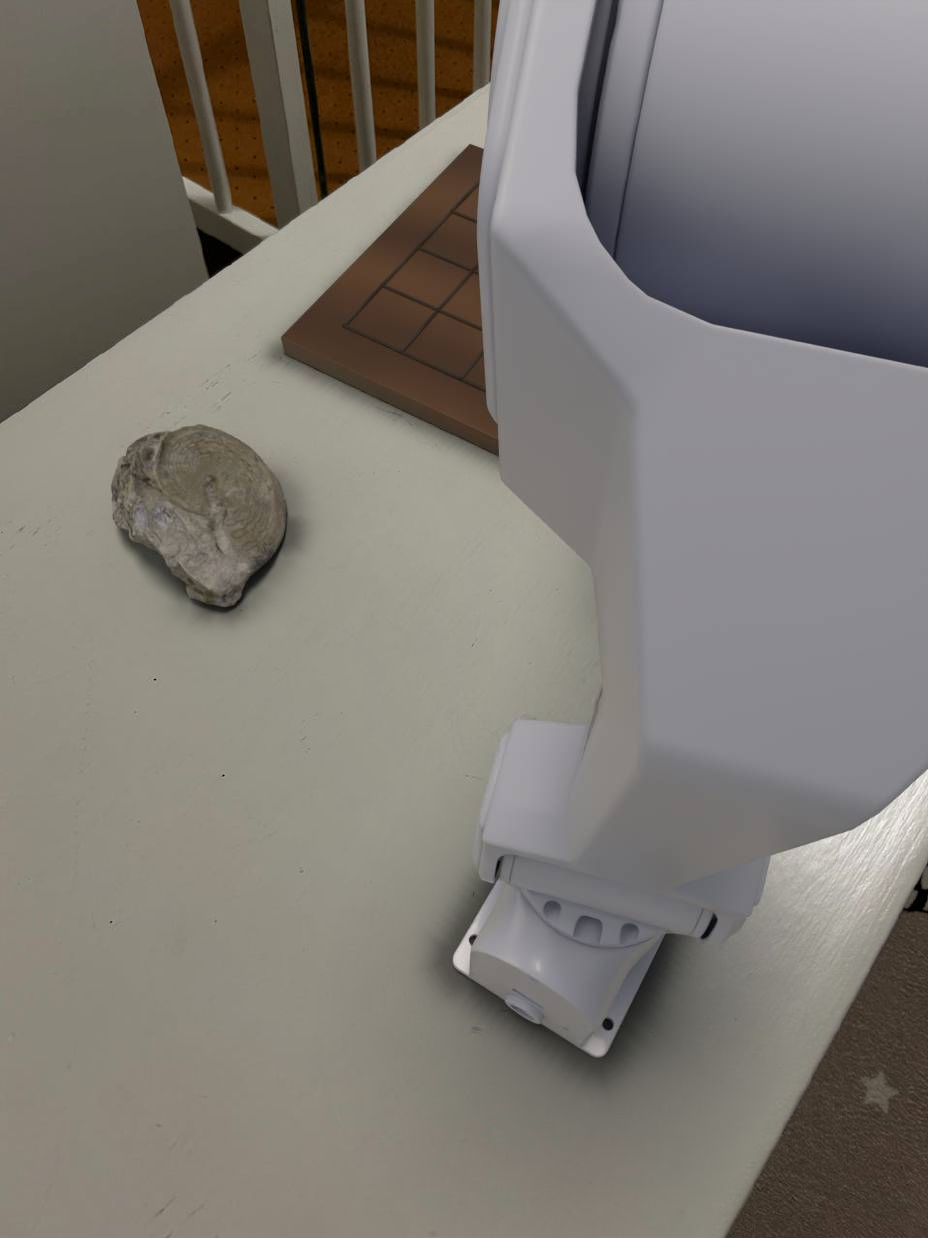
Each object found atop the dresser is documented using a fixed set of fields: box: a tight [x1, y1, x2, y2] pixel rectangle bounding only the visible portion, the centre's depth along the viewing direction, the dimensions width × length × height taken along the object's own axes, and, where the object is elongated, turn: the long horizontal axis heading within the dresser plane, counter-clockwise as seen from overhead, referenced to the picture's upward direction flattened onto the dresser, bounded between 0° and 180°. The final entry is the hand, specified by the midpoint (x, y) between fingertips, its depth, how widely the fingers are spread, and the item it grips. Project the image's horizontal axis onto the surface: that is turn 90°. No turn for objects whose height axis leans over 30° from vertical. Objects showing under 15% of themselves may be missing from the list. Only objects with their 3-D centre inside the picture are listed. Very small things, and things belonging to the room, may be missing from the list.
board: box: [280, 143, 499, 456], centre depth 66 cm, size 24×24×2 cm
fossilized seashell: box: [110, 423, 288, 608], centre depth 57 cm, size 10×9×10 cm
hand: (697, 428), depth 49 cm, fingers open, 7 cm apart
